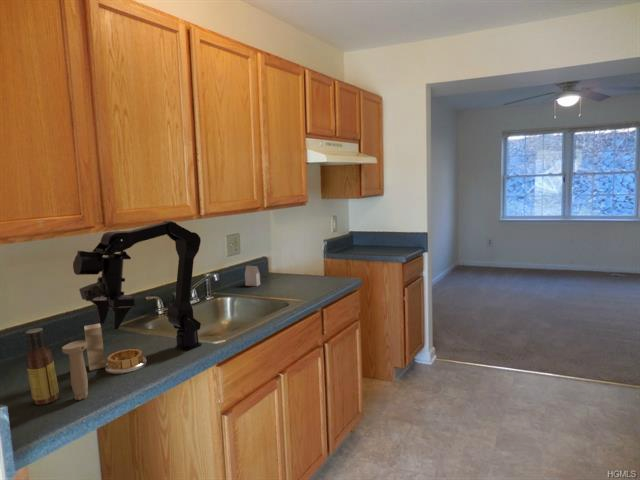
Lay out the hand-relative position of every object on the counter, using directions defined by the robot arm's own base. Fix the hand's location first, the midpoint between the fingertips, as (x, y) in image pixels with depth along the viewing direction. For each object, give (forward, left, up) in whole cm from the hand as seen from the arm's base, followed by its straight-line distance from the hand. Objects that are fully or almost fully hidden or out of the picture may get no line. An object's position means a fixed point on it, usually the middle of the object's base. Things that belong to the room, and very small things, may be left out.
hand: (108, 326), depth 141 cm
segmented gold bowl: (-5, -1, -15) cm, 15 cm away
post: (0, -9, -15) cm, 17 cm away
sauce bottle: (+20, +1, -15) cm, 25 cm away
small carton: (-102, -39, -15) cm, 110 cm away
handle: (+14, +8, -15) cm, 22 cm away
